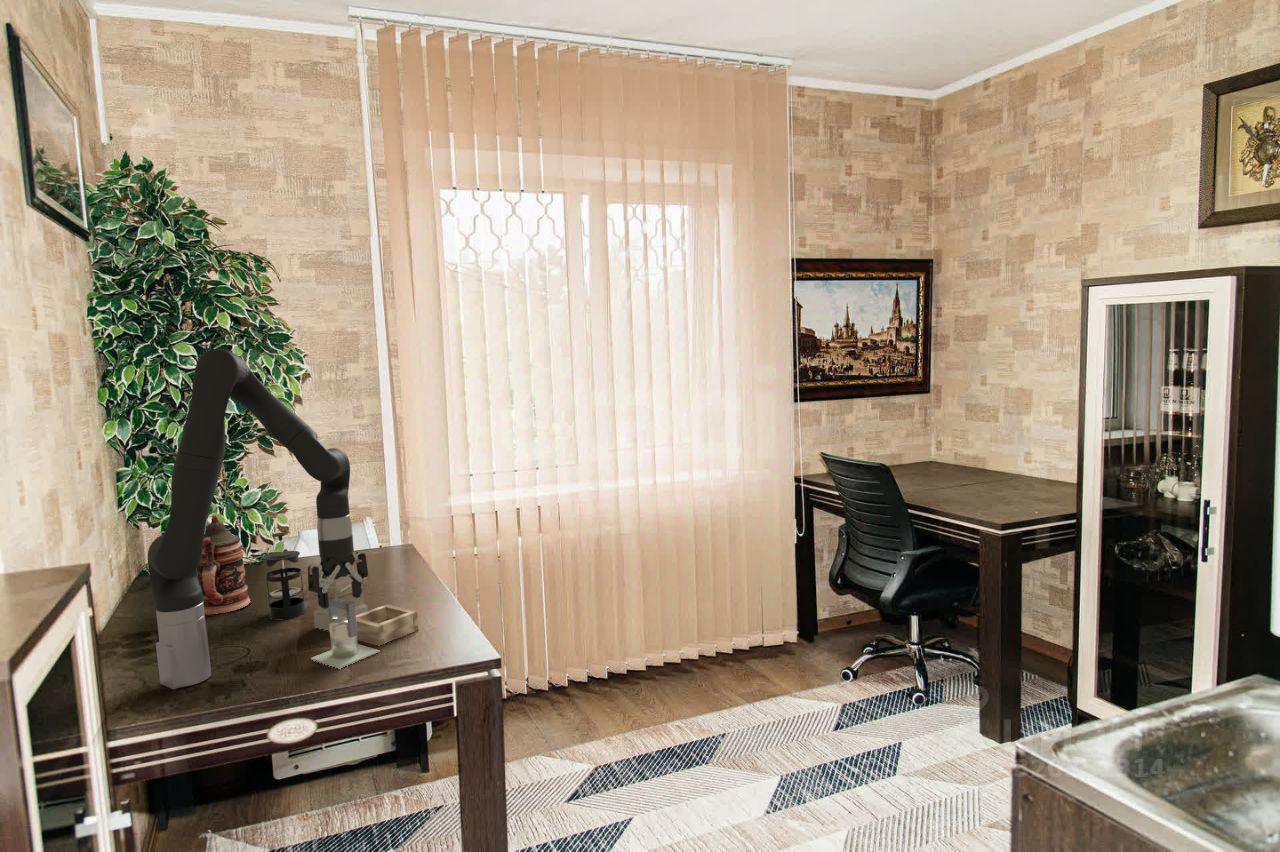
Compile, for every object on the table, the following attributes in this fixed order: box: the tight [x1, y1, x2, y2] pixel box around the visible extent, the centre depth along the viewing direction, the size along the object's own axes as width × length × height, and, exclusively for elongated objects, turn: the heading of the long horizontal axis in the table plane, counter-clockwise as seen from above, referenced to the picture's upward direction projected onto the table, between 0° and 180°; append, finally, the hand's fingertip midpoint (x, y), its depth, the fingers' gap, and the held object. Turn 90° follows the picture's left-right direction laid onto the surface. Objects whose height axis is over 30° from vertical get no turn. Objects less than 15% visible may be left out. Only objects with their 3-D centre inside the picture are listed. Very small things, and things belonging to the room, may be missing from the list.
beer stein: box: [197, 514, 251, 614], centre depth 226 cm, size 17×28×18 cm
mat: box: [310, 643, 381, 670], centre depth 187 cm, size 11×11×1 cm
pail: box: [328, 597, 359, 659], centre depth 187 cm, size 6×8×13 cm
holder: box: [356, 603, 419, 647], centre depth 201 cm, size 12×12×5 cm
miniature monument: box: [308, 564, 370, 632], centre depth 207 cm, size 10×10×30 cm
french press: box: [263, 531, 307, 620], centre depth 219 cm, size 12×9×23 cm
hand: (340, 602), depth 186 cm, fingers open, 8 cm apart
